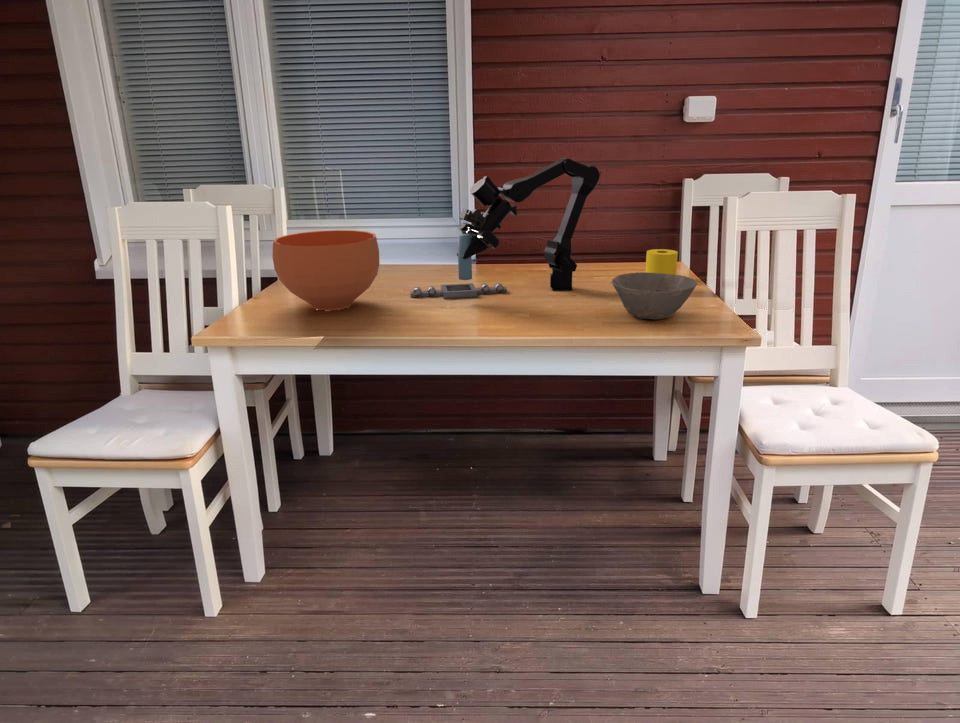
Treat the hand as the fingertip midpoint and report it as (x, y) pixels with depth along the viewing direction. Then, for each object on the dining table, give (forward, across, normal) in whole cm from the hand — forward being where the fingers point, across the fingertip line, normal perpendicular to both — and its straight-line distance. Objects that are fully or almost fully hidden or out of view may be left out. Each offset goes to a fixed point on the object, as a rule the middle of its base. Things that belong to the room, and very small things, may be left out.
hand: (460, 257), depth 194 cm
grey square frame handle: (+8, -9, +11) cm, 17 cm away
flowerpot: (+36, -13, -16) cm, 41 cm away
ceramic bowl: (-18, +39, +38) cm, 58 cm away
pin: (+4, 0, +6) cm, 7 cm away
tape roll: (-40, +4, +60) cm, 72 cm away
